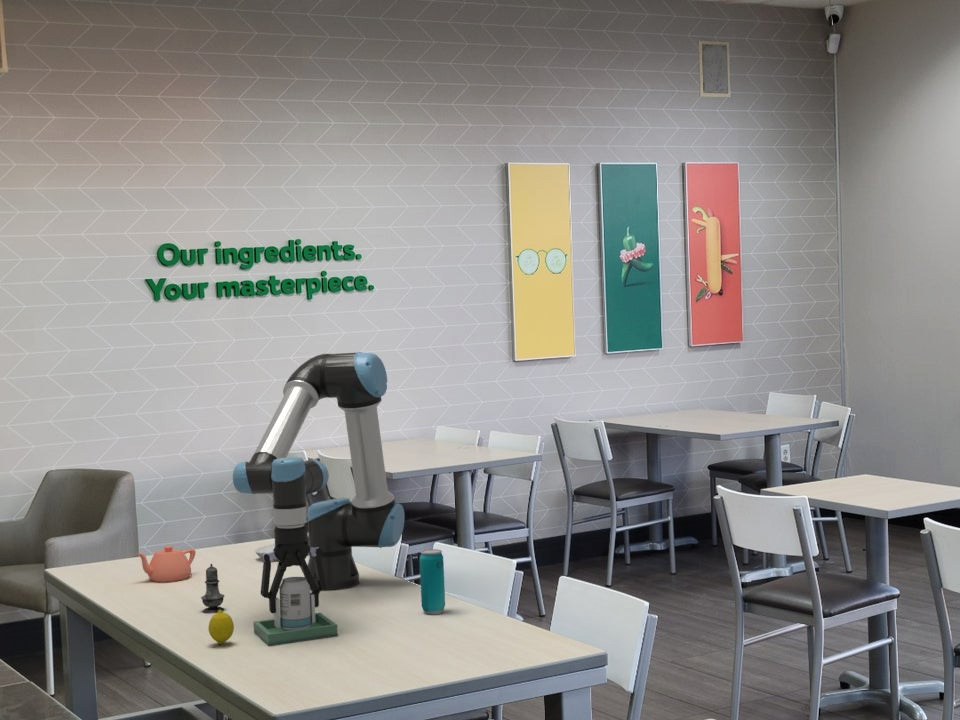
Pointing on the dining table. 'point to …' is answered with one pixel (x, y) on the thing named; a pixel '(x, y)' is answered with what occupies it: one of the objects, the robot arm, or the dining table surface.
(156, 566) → the teapot
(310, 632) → the tray
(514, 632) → the dining table surface
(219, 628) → the fruit
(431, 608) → the beverage can
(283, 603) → the beverage can
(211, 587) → the salt shaker
